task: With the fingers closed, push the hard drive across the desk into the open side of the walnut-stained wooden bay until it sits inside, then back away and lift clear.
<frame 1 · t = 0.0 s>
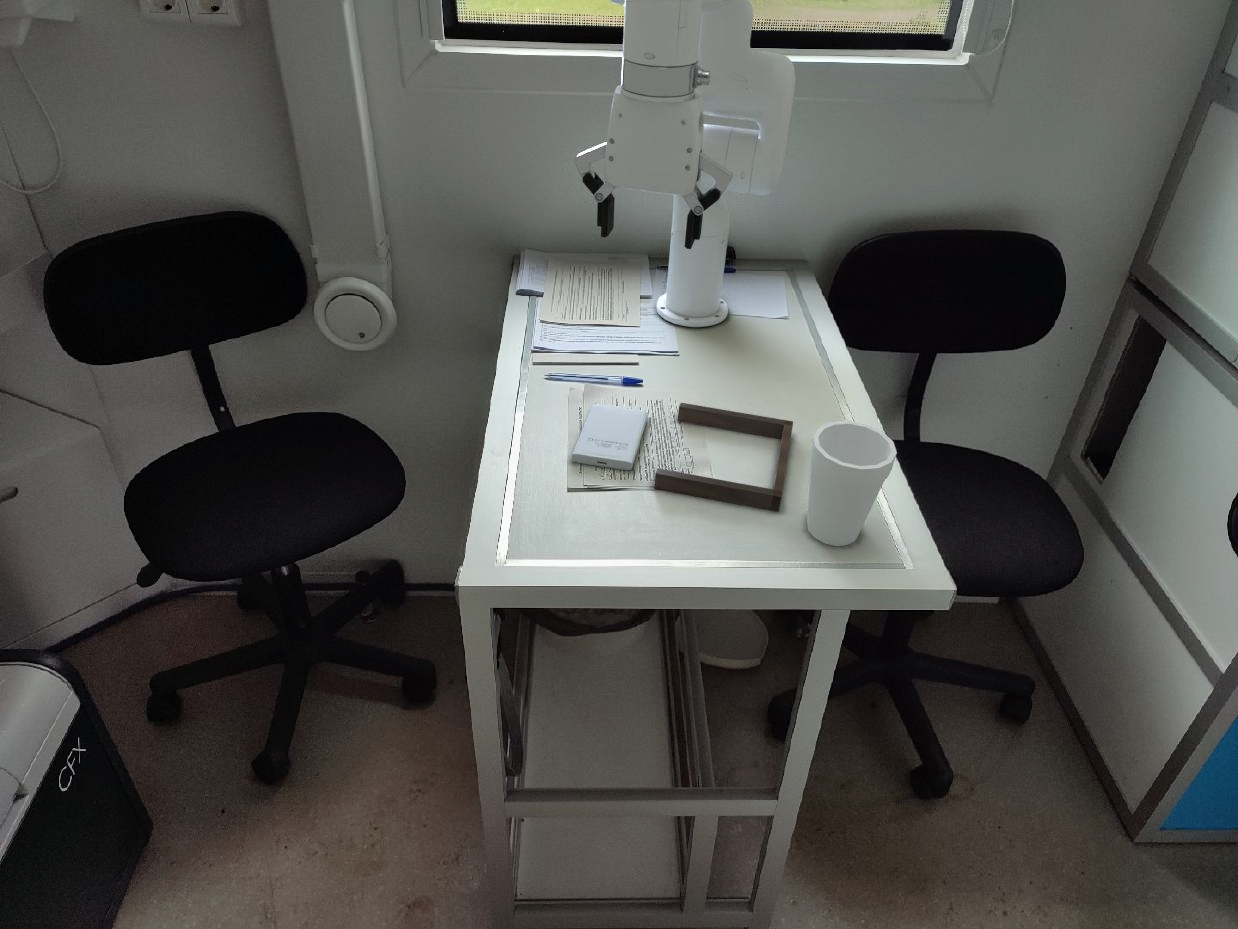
hand: (648, 238, 97), 31 cm above the table, tool pointing down, fingers open, 9 cm apart
dock: (721, 460, 117), on the table
foam cup: (832, 529, 107), on the table
hard drive: (610, 441, 120), on the table
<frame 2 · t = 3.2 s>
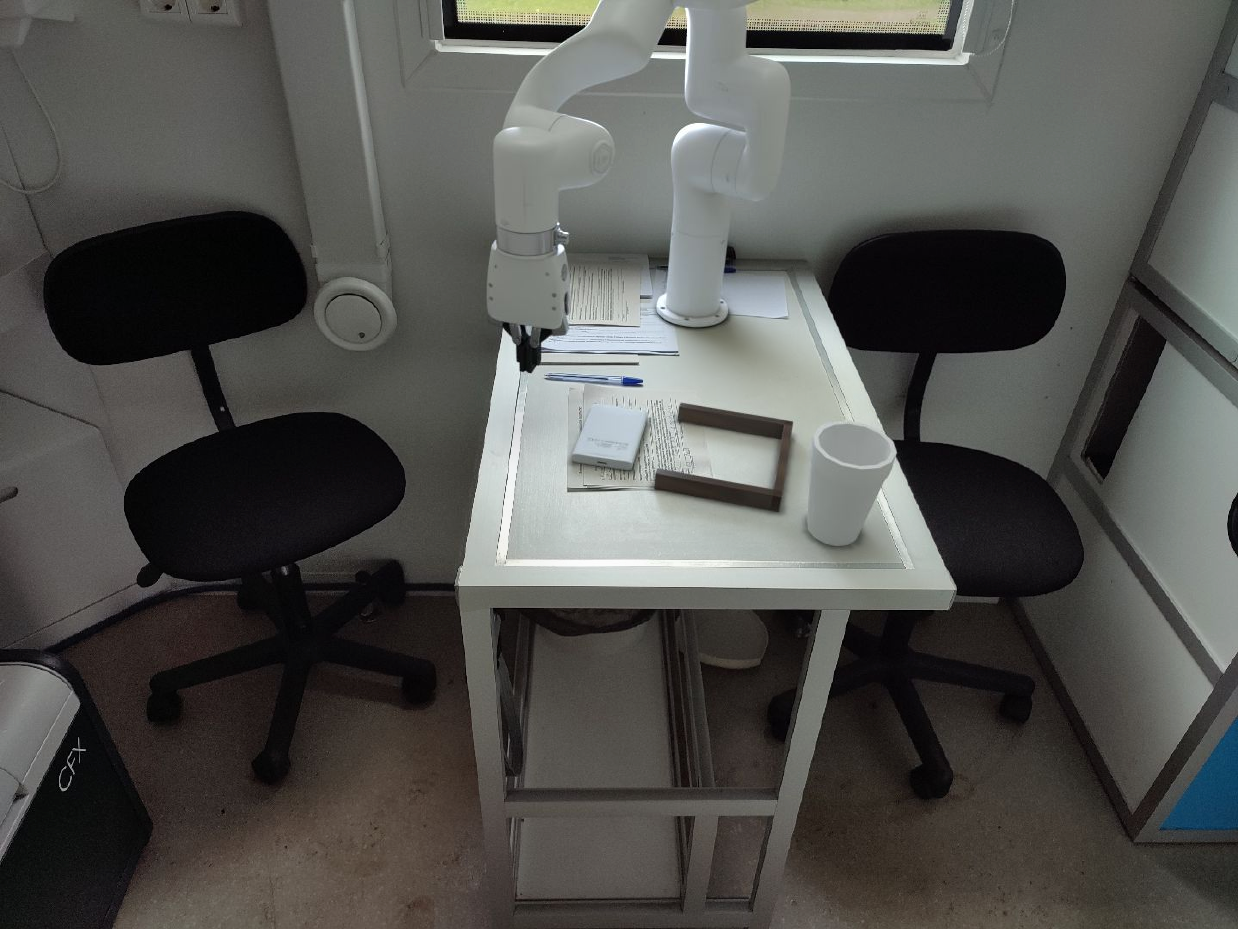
hand: (529, 367, 115), 10 cm above the table, tool pointing down, fingers closed
nothing on the table moved.
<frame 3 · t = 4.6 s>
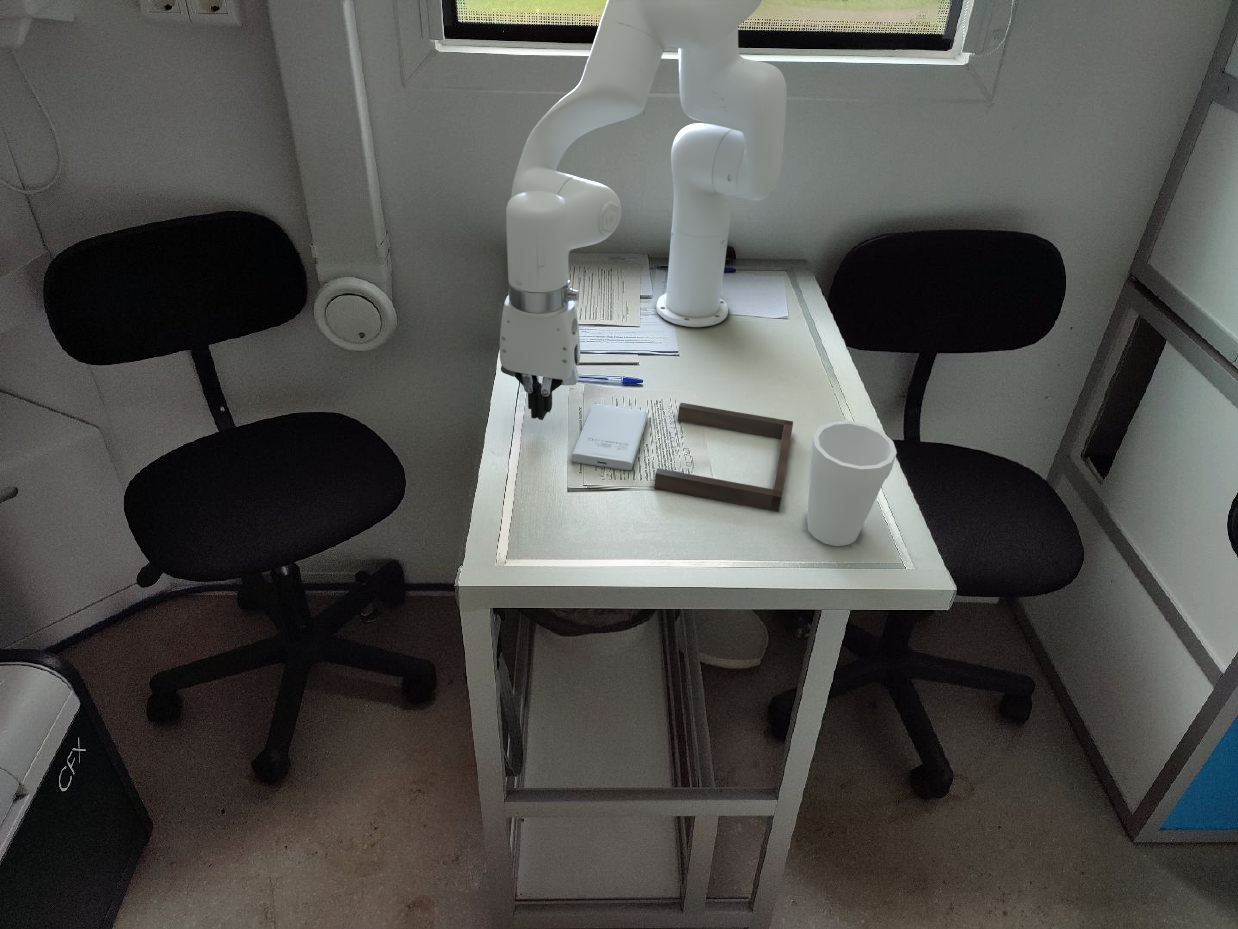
hand: (540, 413, 120), 2 cm above the table, tool pointing down, fingers closed
nothing on the table moved.
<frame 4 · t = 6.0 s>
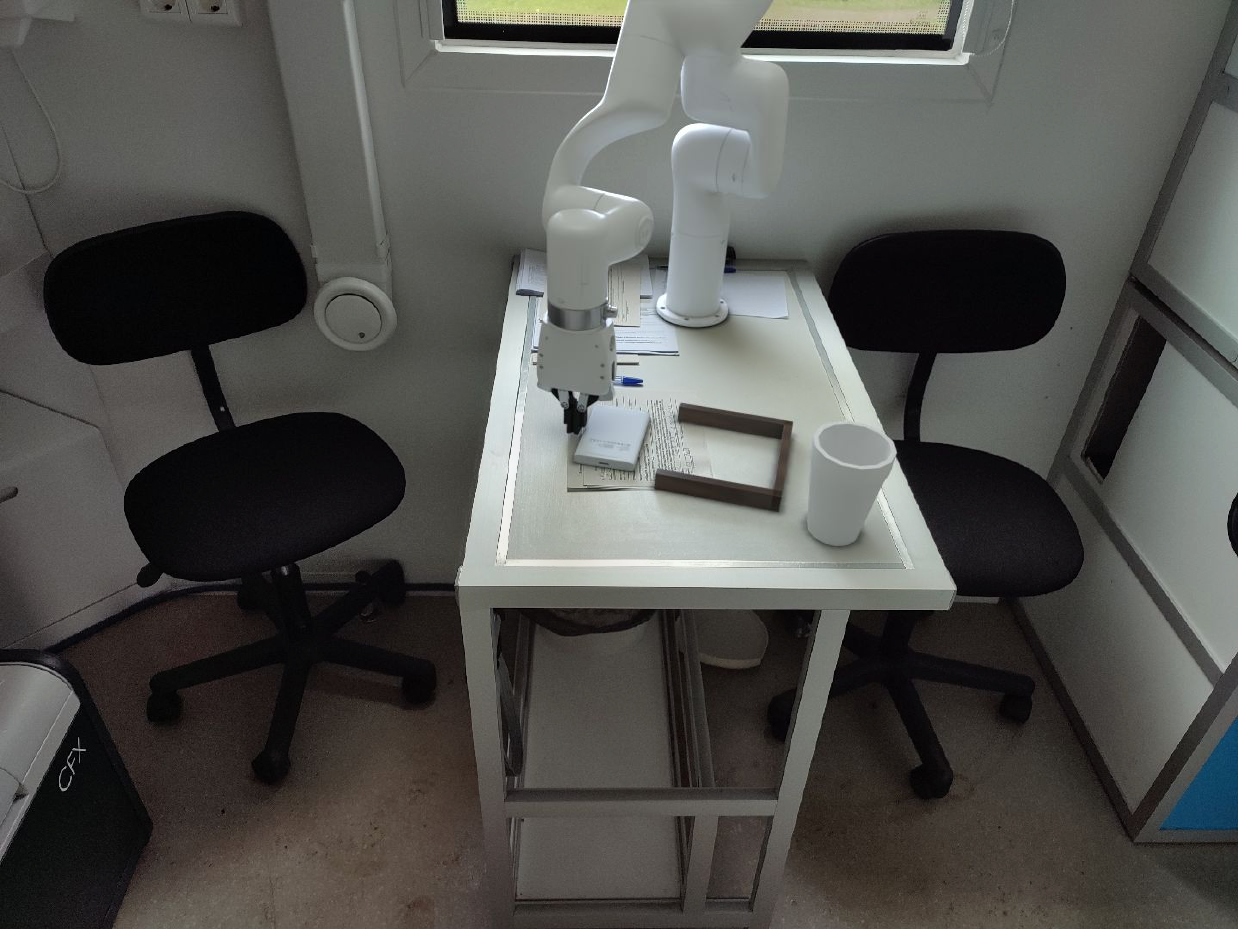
hand: (575, 428, 120), 1 cm above the table, tool pointing down, fingers closed
hard drive: (613, 442, 119), on the table, touching gripper
everything else where it was.
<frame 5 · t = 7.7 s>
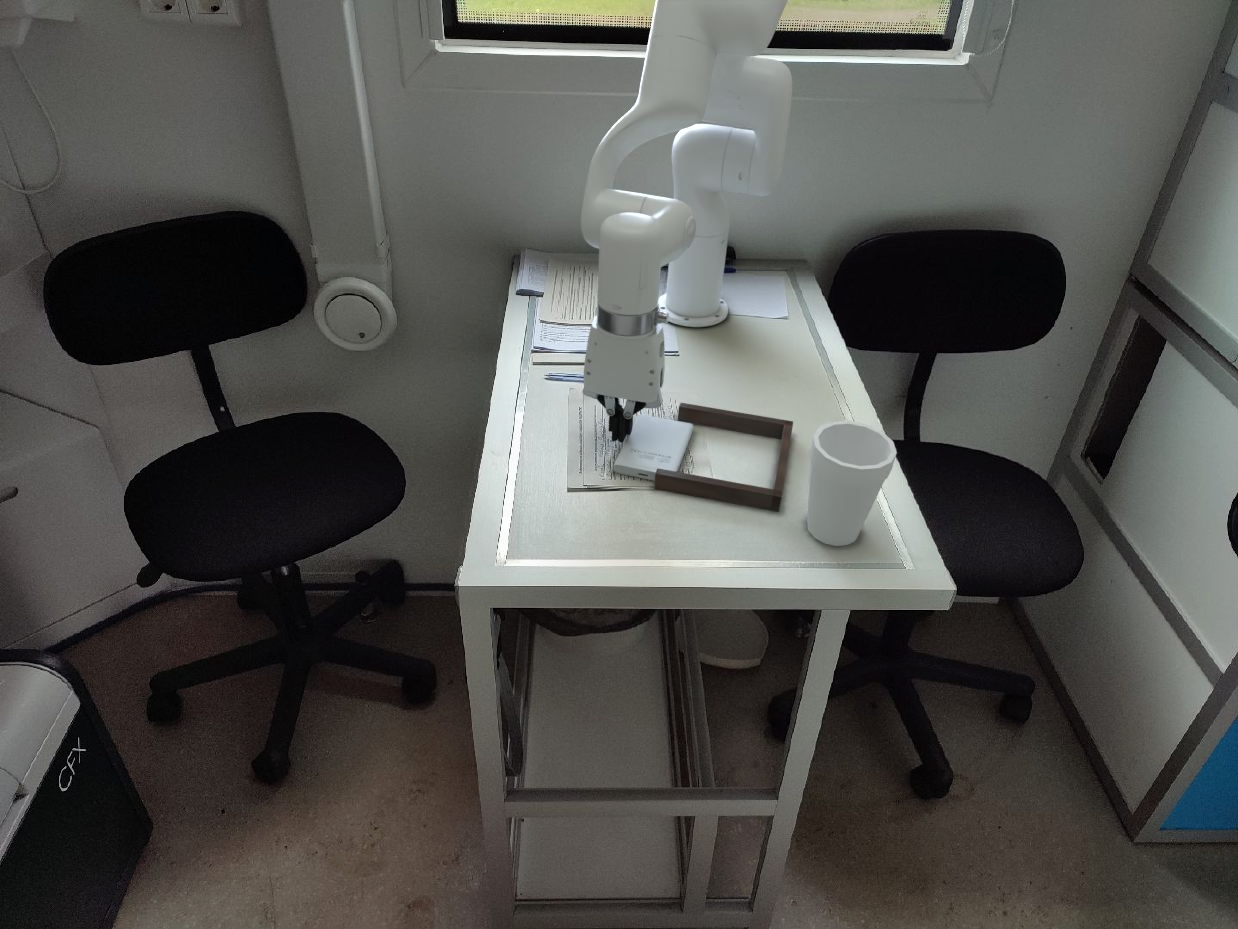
hand: (620, 436, 118), 1 cm above the table, tool pointing down, fingers closed
hard drive: (654, 453, 118), on the table, touching gripper
everything else where it was.
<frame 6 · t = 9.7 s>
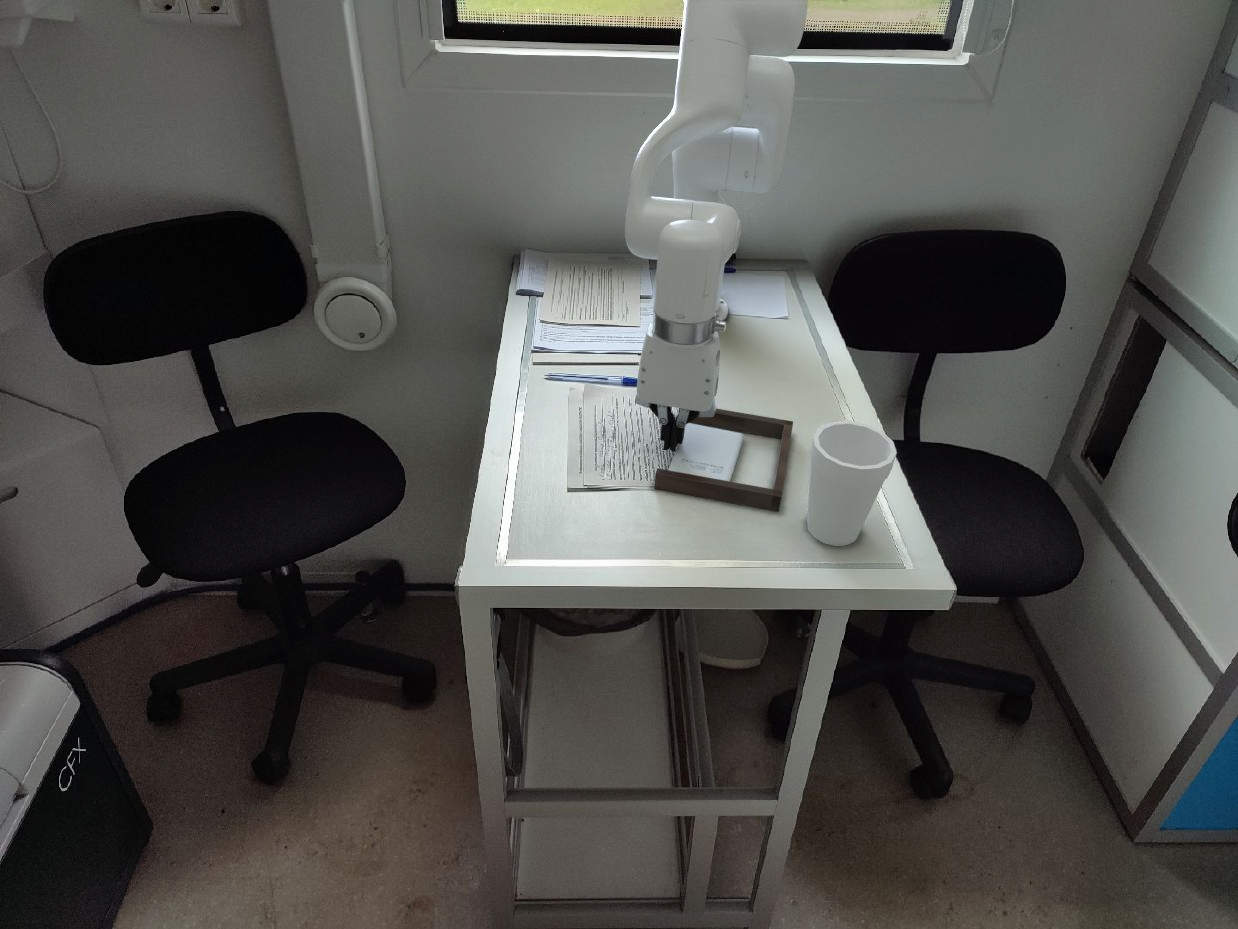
hand: (671, 445, 116), 2 cm above the table, tool pointing down, fingers closed
hard drive: (704, 463, 116), on the table, touching gripper
everything else where it was.
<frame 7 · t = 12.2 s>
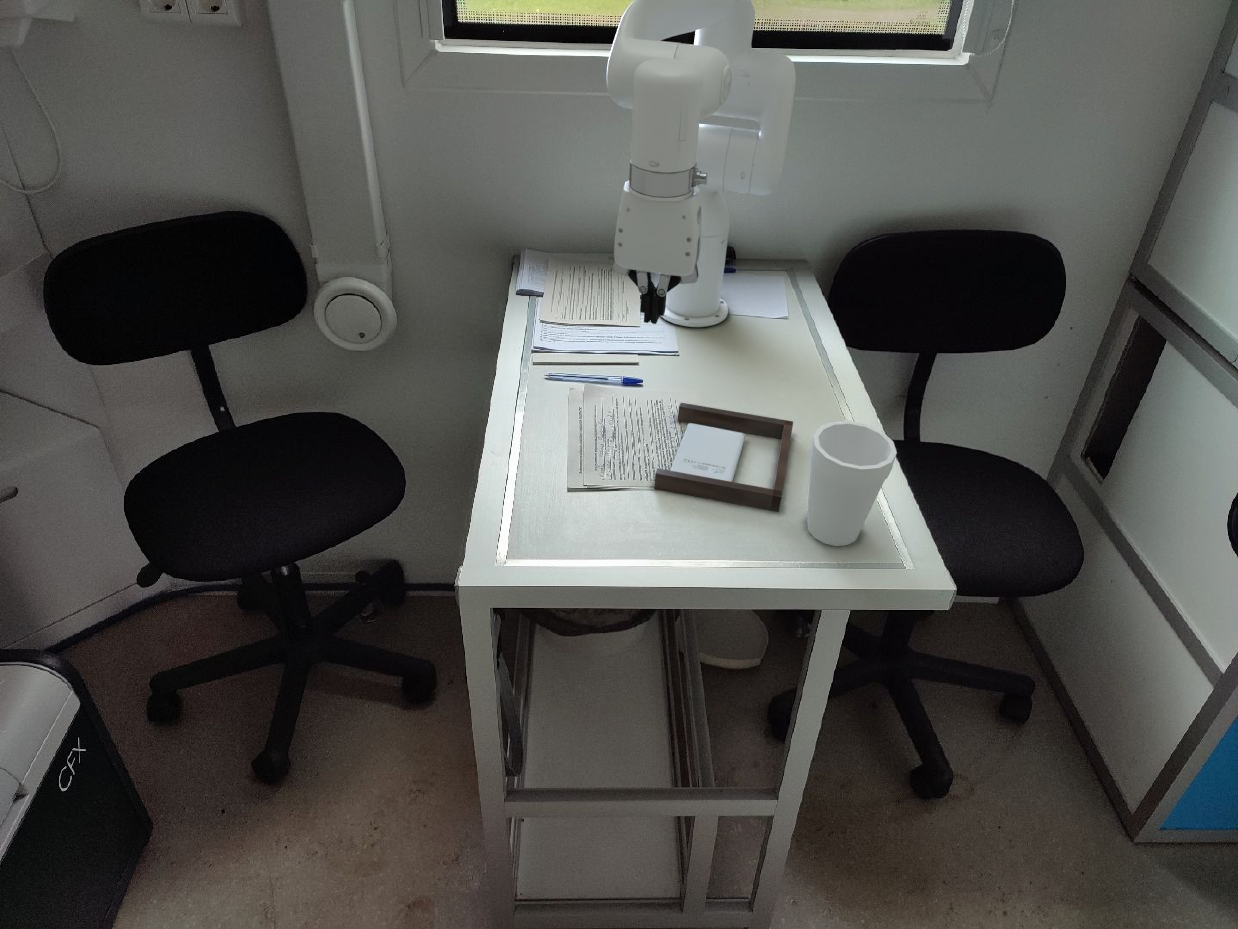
hand: (652, 318, 110), 18 cm above the table, tool pointing down, fingers closed
hard drive: (706, 463, 116), on the table
everything else where it was.
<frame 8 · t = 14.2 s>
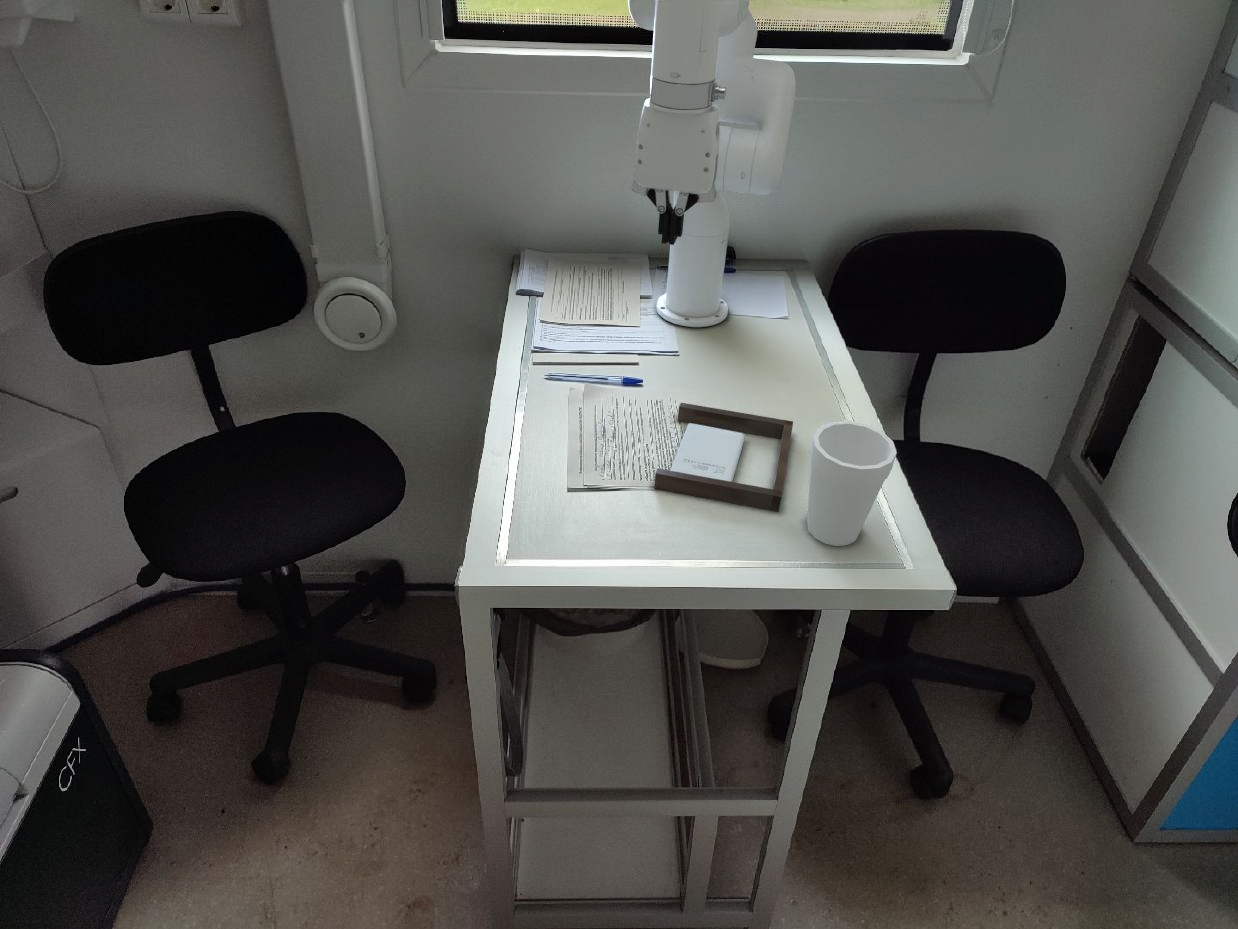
hand: (669, 240, 113), 25 cm above the table, tool pointing down, fingers closed
nothing on the table moved.
at the end: hard drive inside the target area on the dock (1.9 cm from its centre), point 0.0 cm above the dock's base; hard drive tilted 0°; hard drive moved 13.7 cm from its start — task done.
